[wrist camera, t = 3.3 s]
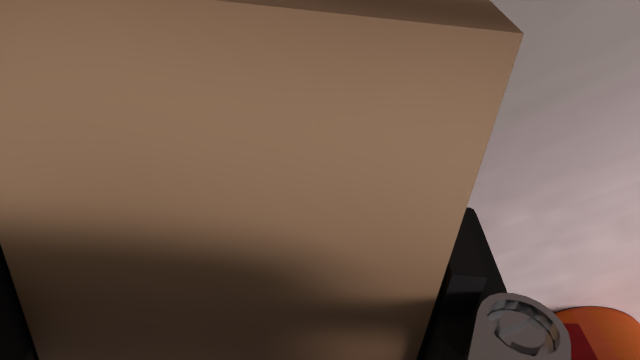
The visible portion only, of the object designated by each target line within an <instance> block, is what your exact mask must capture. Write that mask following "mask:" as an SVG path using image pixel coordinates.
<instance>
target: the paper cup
mask: <svg viewBox="0 0 640 360" xmlns="http://www.w3.org/2000/svg"><path fill="white" fill-rule="evenodd" d="M554 314H555V315H556V316H557V317H558V318H559V319H560V320H561V321H562V323H563V324H564V326H565V328H566V329H567V331H568V333H569V338H570V342H571V359H573V360H640V324H639V323H638V322H637V321H636V320H635V319H634V318H633V317H631V316H630V315H628V314H626V313H624V312H622V311H619V310H616V309H611V308H606V307H579V308H572V309H567V310H563V311H559V312H556V313H554Z"/></svg>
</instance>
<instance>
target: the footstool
mask: <svg viewBox="0 0 640 360" xmlns="http://www.w3.org/2000/svg"><path fill="white" fill-rule="evenodd" d="M523 34H524V33H523V32H522V31H521V30H519V29H518V28H517V27H516V26H515V25H514V24H513V23H512V22H511V21H510V20H509V19H508V18H507V17H506V16H505V15H504V14H503V13H502V12H501V11H500V10H499V9H498V8H497V7H496V6H495V5H494V4H493V3H492V2H491V1H489V0H0V244H1V247H2V250H3V253H4V256H5V259H6V262H7V265H8V268H9V271H10V274H11V277H12V280H13V283H14V286H15V289H16V292H17V295H18V298H19V301H20V304H21V307H22V310H23V313H24V316H25V319H26V322H27V325H28V328H29V331H30V334H31V337H32V339H33V342H34V345H35V348H36V351H37V354H38V357H39V360H416V359H417V356H418V353H419V350H420V347H421V344H422V341H423V338H424V335H425V332H426V329H427V326H428V323H429V320H430V317H431V313H432V310H433V307H434V304H435V301H436V298H437V295H438V292H439V289H440V286H441V283H442V280H443V277H444V274H445V271H446V268H447V265H448V262H449V259H450V256H451V253H452V250H453V247H454V244H455V241H456V238H457V235H458V232H459V229H460V225H461V222H462V219H463V216H464V213H465V210H466V207H467V204H468V201H469V198H470V195H471V192H472V189H473V186H474V183H475V180H476V177H477V174H478V171H479V168H480V165H481V162H482V159H483V156H484V153H485V150H486V147H487V144H488V141H489V137H490V134H491V131H492V128H493V125H494V122H495V119H496V116H497V113H498V110H499V107H500V104H501V101H502V98H503V95H504V92H505V89H506V86H507V83H508V80H509V77H510V74H511V71H512V68H513V65H514V62H515V59H516V56H517V53H518V49H519V46H520V43H521V40H522V37H523Z"/></svg>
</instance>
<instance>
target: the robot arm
mask: <svg viewBox="0 0 640 360" xmlns="http://www.w3.org/2000/svg"><path fill="white" fill-rule="evenodd" d="M0 360H39V357H38V354H37V351H36V348H35V345H34V342H33V339H32V337H31V334H30V331H29V328H28V325H27V322H26V319H25V316H24V313H23V310H22V307H21V304H20V301H19V298H18V295H17V292H16V289H15V286H14V283H13V280H12V277H11V274H10V271H9V268H8V265H7V262H6V259H5V256H4V253H3V250H2V247H1V244H0ZM416 360H573V359H571V342H570V338H569V333H568V331H567V329H566V328H565V326H564V324H563V323H562V321H561V320H560V319H559V318H558V317H557V316H556V315H555V314H554V313H553V312H552V311H551V310H550V309H548V308H547V307H545V306H544V305H542V304H541V303H540V302H537V301H535V300H533V299H531V298H528V297H526V296H522V295H518V294H514V293H507V291H506V288H505V285H504V283H503V280H502V278H501V275H500V273H499V270H498V268H497V265H496V263H495V260H494V258H493V255H492V253H491V250H490V247H489V245H488V242H487V240H486V237H485V235H484V232H483V230H482V227H481V225H480V222H479V220H478V217H477V215H476V213H475V211H474V209H472V208H467V207H466V210H465V213H464V216H463V219H462V222H461V225H460V229H459V232H458V235H457V238H456V241H455V244H454V247H453V250H452V253H451V256H450V259H449V262H448V265H447V268H446V271H445V274H444V277H443V280H442V283H441V286H440V289H439V292H438V295H437V298H436V301H435V304H434V307H433V310H432V313H431V317H430V320H429V323H428V326H427V329H426V332H425V335H424V338H423V341H422V344H421V347H420V350H419V353H418V356H417V359H416Z"/></svg>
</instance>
